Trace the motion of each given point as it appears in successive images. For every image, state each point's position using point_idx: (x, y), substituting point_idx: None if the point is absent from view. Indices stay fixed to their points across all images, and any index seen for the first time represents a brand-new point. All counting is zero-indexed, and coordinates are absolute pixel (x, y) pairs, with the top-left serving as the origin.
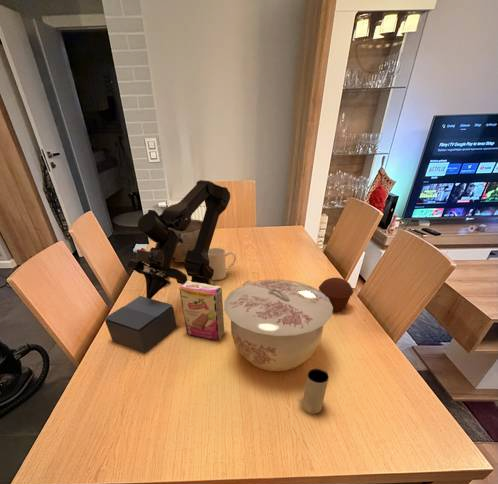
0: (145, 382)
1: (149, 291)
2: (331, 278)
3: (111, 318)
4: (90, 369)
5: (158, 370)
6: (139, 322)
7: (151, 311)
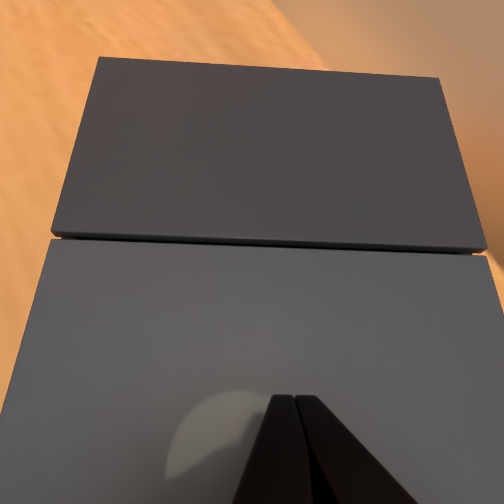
0: (35, 66)
1: (294, 464)
2: None
3: (389, 88)
4: (287, 53)
5: (13, 125)
6: (148, 116)
7: (160, 294)
